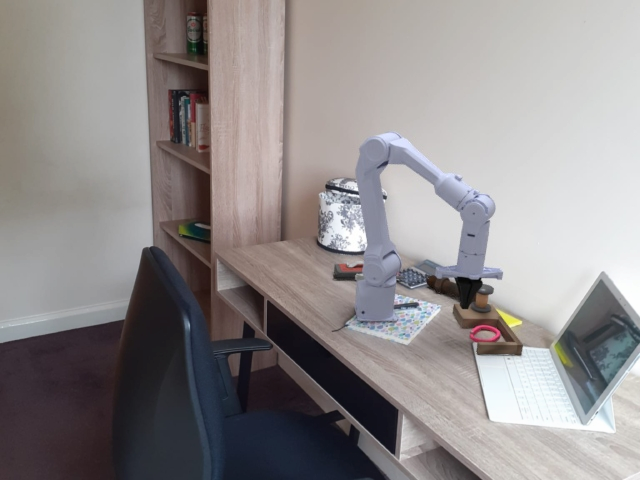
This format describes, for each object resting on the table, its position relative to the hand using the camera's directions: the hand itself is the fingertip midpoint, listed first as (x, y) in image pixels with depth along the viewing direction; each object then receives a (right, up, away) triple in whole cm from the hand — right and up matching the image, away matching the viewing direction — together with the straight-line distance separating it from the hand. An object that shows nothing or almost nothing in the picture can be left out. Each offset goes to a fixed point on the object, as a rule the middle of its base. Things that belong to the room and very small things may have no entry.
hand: (464, 307), depth 133 cm
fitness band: (+6, -8, +5) cm, 11 cm away
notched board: (+6, -7, +6) cm, 11 cm away
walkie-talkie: (-19, +4, +35) cm, 40 cm away
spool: (+7, -2, +13) cm, 15 cm away
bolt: (+3, 0, +26) cm, 26 cm away
